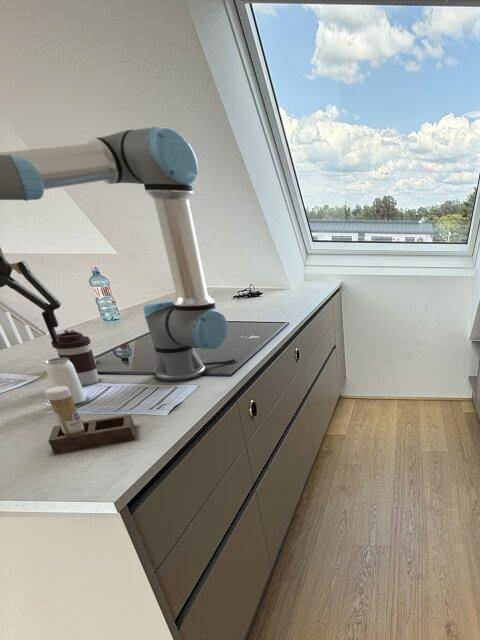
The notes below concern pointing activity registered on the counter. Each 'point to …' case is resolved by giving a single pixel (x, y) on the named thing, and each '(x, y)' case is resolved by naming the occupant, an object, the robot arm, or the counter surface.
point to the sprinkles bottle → (65, 410)
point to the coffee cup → (78, 355)
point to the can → (65, 377)
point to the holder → (94, 434)
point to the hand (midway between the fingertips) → (20, 346)
